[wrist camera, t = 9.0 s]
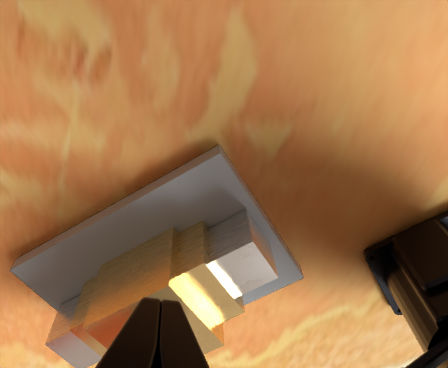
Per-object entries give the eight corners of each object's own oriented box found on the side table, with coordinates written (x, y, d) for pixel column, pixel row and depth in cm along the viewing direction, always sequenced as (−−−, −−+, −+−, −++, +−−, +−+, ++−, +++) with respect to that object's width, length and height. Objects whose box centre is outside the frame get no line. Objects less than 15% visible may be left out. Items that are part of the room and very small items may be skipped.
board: (300, 266, 26) (303, 277, 25) (121, 350, 29) (119, 363, 28) (219, 144, 22) (220, 153, 21) (16, 258, 25) (9, 270, 24)
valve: (276, 249, 25) (300, 339, 19) (102, 333, 28) (79, 434, 22) (235, 188, 22) (249, 271, 17) (49, 287, 25) (8, 386, 20)
